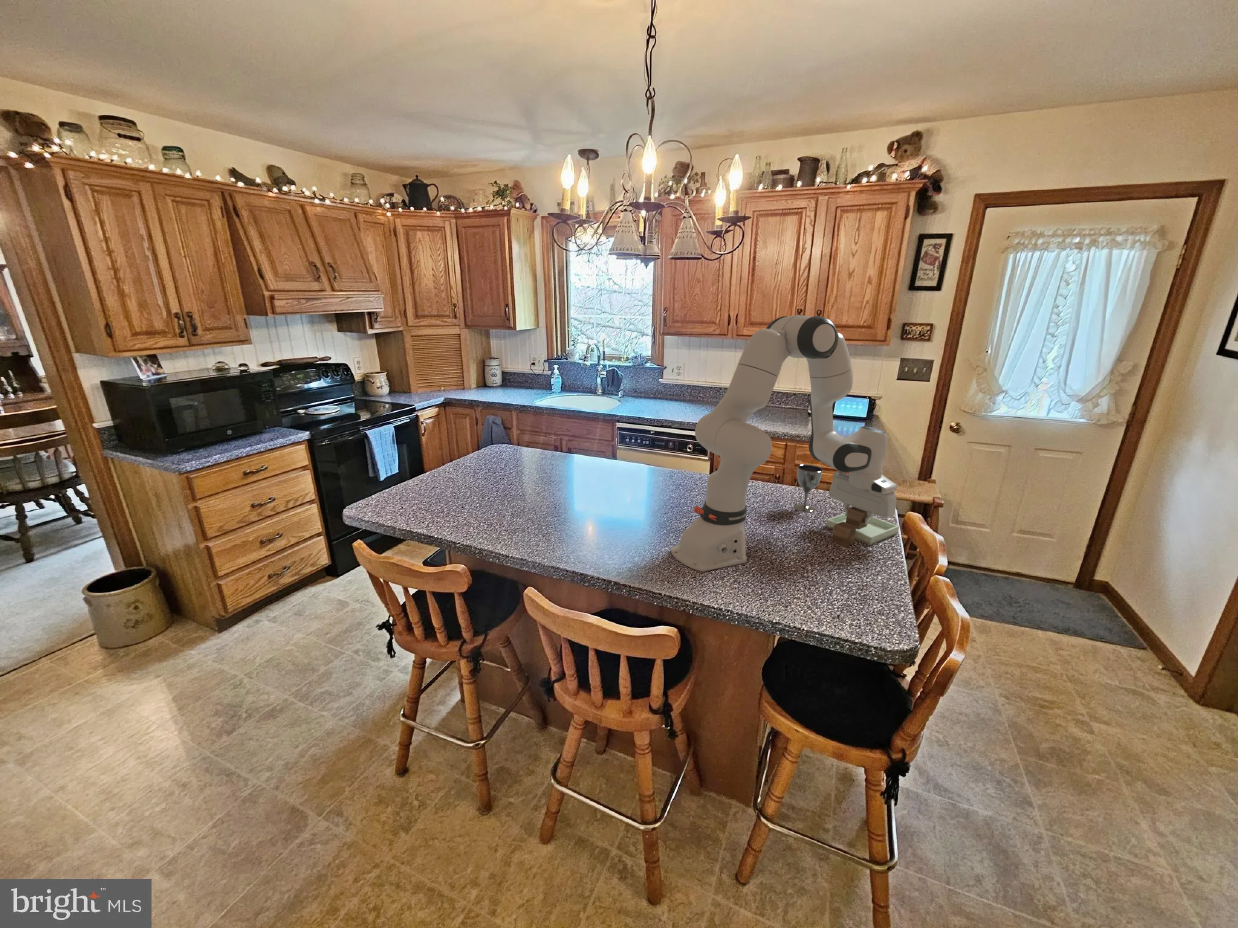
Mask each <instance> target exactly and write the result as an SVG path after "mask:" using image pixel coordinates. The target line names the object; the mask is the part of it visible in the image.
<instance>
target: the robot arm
mask: <svg viewBox="0 0 1238 928" xmlns="http://www.w3.org/2000/svg"><path fill="white" fill-rule="evenodd" d="M788 357H791V358H793V359H805V360H806V361H807V365H808V373H809V375H808V376H809V379H810V380H809V382H810V394H809V395H810V396H809V408H810V409H809V411H810V424H811V425H810V426H811V433H810V438H809V441H808V452H809V455H810V456H811V457H812V458H813V459H814V460H815V461H818V462H820V463H822V464H825V465H826V466H828V467H830V468H832V469H834V470H836V471H835V472H834V473H833V475H832V481H831V485H830V488H829V491H828V495H829V497H830V498H831V499H833V500H835V501H838V502H840V503H843V505H842V506H843V509H844V511H845V512H844V513H845V516H846V517H847V512H848V508H851V507H853V506H854V507H857V508H860V509H862V510H865V511H868V512H867V515H869V516H868V517H865V518H863V521H862V523H864V524H866V525H867V524H869V523H870V519H871V518H872V517H875V516H879V517H881V518H884V519H887V518H891V517H892V516H894V515H895V513H896V508H897V495H896V493H895V492H896V491H897V489H898V485H897V483H895V482H893V481H892V480H891V479H889V478H888V477H886V476H885V475H883V463H884V462H885V459H886V455H887V451H888V435H887V433H886V432H885V431H884V430H882V429H879V428H876V427H872V426H866V425H865V426H860V427H859V429H858V430H857V431H855V432H854V433H852V434H850V435H848V436H842V435H840V434H838V432H837V431H836V430H835V428H834V420H833V419H834V416H833V405H834V403H835V402H838V401H841V400H842V399H844V398H845V397H846V396H847V395H849V393H850V392H851V391H852V389H853V384H854V374H853V368H852V360H851V356H850V352H849V348H848V345H847V341H846V339H845V337H844V336H843V334H842V333H840V332H838V330H837V328H836V326H835V324H834V323H833V322H832V321H831V320H830V319H828V318H826V317H823V316H820V315H813V316H812V315H803V314H794V315H789V316H787V315H784V316H780V317H777V318H775V319H773V320H771V322H770V323H769V324H768V325H767V326H766V328H761V329H758V330H757V331H754V333H753V334H752V335H751V337H750V338H749V340H748V342H747V343H746V346H745V347H744V349H743V351H742V352H741V355H740V358H739V360H738V362H737V365H736V368H735V371H734V373H733V376H732V378H731V380H730V383H729V385H728V388H727V390H726V391H725V393H724V395H723V397H722V398H721V399H720V401H719V402H718V403H717V405H716V406H715V407H714V408H713V410H712V411H710V412H708V413H707V414H704V416H702V417H701V418H700V419H699V420H698V421H697V423H696V425H695V430H694V435H695V439H696V441H697V442H698V443H699V445H701V447H703V448H704V449H705V450H706V451H709V452H710V453H713V454H714V455H717V456H719V457H720V462H719V466H718V469H717V470H715V471H713V472H712V473H710V475H709V476H708V477H707V483H706V484H707V485H706V496H705V497H706V498H705V501H704V503H703V506H702V507H701V506H699V505H695V507H694V508H693V512H694V513H695V514H698V515H699V517H697V519H696V520H695V521H693V522H692V523H691V524H690V525H689V526H688V527H687V528H686V529H685V530H684V531H682V534H681V536H680V541H679V543H678V544H677V545H674V546H673V547H671V549H670V552H671V555H672V556H673V557H674V559H675V560H676V561H678V562H680V563H681V564H682V565H685V566H686V567H689V568H691V569H693V570H696V571H700V572H706V571H711V570H716V569H720V568H725V567H730V566H734V565H740V564H745V563H747V562H748V560H747V559H748V557H747V547H746V531H745V530H746V528H745V521H746V519H747V505H746V503H747V495H748V489H749V488H748V486H749V483H750V480H751V477H752V475H753V473H754V471H755V470H756V469H757V468H758V467H760V466H762V465H763V464H765V462H767V461H768V459H769V458H770V456H771V453H772V449H773V444H772V439H771V437H770V435H769V434H768V433H766V432H765V431H764V430H762V429H761V428H759V426H756V425H754V424H750V423H748V422H747V421H748V420H749V419H750V417H751V416H752V415H753V414H755V412H757V411H758V410H761V409H763V408H764V407H766V406H767V405H768V403H769V401H770V398H771V395H772V393H773V391H774V387H775V386H776V383H777V380H778V378H779V375H780V372H781V370H782V366H783V364H784V362H785V361H786V360H787V358H788ZM850 506H851V507H850Z"/></svg>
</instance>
